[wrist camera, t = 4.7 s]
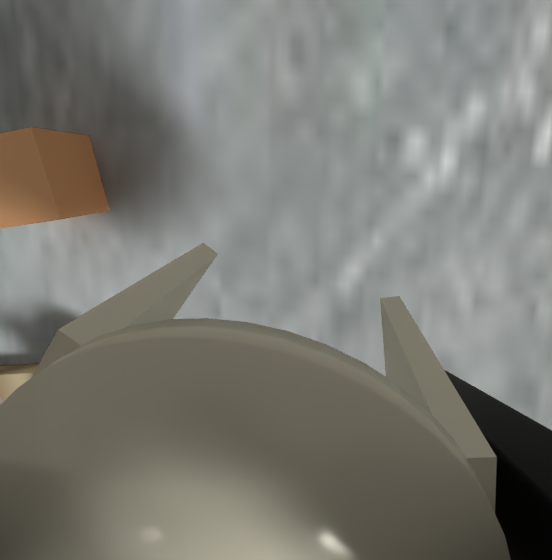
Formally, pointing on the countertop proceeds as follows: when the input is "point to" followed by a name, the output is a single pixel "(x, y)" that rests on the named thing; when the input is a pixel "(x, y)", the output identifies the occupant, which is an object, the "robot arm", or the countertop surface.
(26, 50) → the countertop surface
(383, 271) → the countertop surface
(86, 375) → the cover
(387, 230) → the countertop surface
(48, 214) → the block
